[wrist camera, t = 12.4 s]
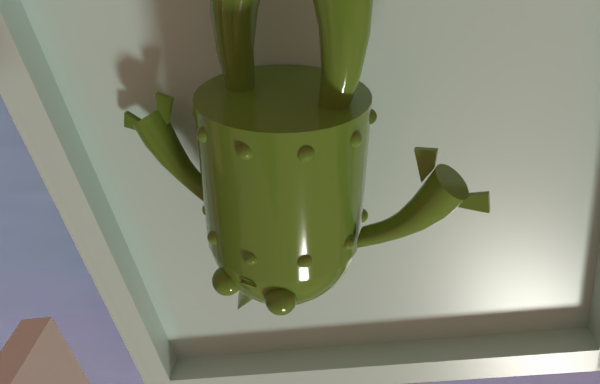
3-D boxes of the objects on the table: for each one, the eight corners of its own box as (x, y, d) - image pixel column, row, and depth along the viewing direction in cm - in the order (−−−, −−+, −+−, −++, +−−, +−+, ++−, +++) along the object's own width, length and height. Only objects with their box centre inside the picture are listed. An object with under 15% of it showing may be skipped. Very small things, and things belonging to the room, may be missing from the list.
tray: (164, 364, 26) (152, 400, 24) (-48, -100, 16) (-95, -95, 14) (606, 330, 23) (628, 368, 21) (707, -268, 13) (764, -287, 11)
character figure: (518, 32, 9) (423, 459, 15) (553, -22, 13) (466, 336, 19) (26, -31, 13) (113, 317, 20) (162, -57, 17) (198, 241, 24)
